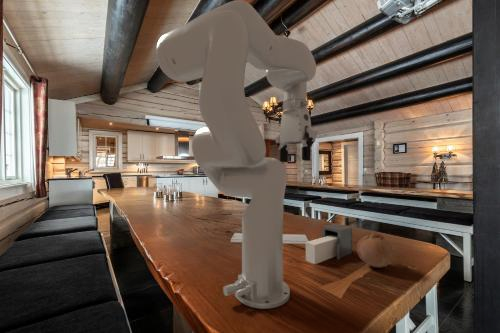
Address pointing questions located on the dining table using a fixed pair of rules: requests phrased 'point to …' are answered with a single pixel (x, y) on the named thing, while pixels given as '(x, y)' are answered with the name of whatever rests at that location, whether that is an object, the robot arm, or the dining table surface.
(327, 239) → the rectangular block
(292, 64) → the robot arm
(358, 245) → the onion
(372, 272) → the dining table surface
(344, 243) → the end cap
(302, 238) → the baseboard molding
